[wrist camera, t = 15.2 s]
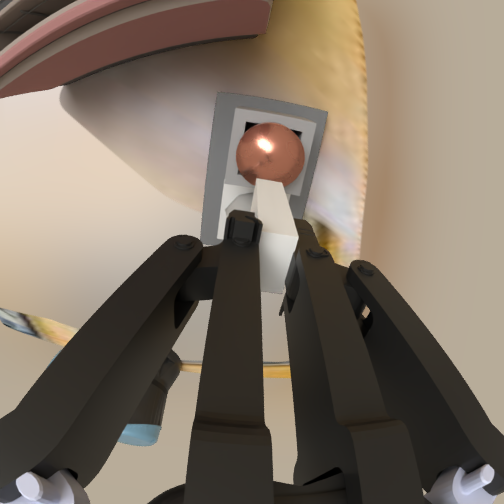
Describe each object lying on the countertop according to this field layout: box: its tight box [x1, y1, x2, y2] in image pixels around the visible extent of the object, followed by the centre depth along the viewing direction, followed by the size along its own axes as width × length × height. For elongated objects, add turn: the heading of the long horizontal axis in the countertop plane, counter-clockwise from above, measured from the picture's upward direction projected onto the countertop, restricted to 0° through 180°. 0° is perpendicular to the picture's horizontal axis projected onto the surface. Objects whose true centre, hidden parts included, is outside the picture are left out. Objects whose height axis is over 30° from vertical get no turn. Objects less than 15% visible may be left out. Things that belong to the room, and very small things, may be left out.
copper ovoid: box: [236, 122, 305, 187], centre depth 28 cm, size 6×6×8 cm
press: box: [200, 92, 328, 246], centre depth 33 cm, size 22×14×10 cm, turn 171°
